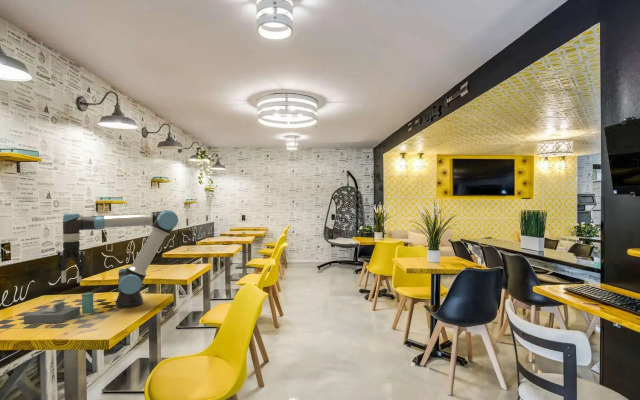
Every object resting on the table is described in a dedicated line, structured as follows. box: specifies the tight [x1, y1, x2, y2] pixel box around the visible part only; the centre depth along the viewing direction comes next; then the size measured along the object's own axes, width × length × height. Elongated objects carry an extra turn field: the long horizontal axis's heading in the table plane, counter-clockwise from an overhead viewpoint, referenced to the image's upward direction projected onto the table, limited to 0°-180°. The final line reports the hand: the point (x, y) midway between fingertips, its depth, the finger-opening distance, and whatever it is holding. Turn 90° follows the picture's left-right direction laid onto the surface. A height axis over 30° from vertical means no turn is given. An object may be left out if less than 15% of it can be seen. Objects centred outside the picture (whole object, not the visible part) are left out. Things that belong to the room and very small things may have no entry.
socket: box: [23, 306, 81, 325], centre depth 190 cm, size 20×14×4 cm
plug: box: [81, 292, 95, 314], centre depth 202 cm, size 4×4×11 cm
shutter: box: [41, 301, 66, 313], centre depth 190 cm, size 8×8×4 cm
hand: (71, 282), depth 191 cm, fingers open, 8 cm apart
